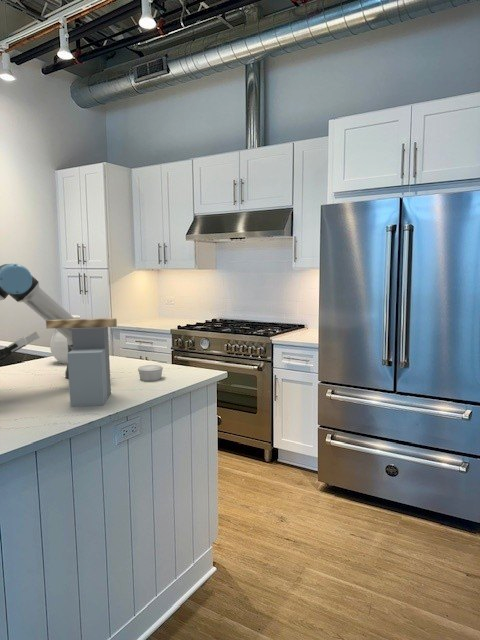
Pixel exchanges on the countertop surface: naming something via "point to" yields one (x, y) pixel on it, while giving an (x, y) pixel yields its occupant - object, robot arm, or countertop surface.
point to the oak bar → (81, 323)
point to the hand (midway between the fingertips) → (31, 337)
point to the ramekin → (150, 372)
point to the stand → (89, 367)
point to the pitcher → (60, 345)
